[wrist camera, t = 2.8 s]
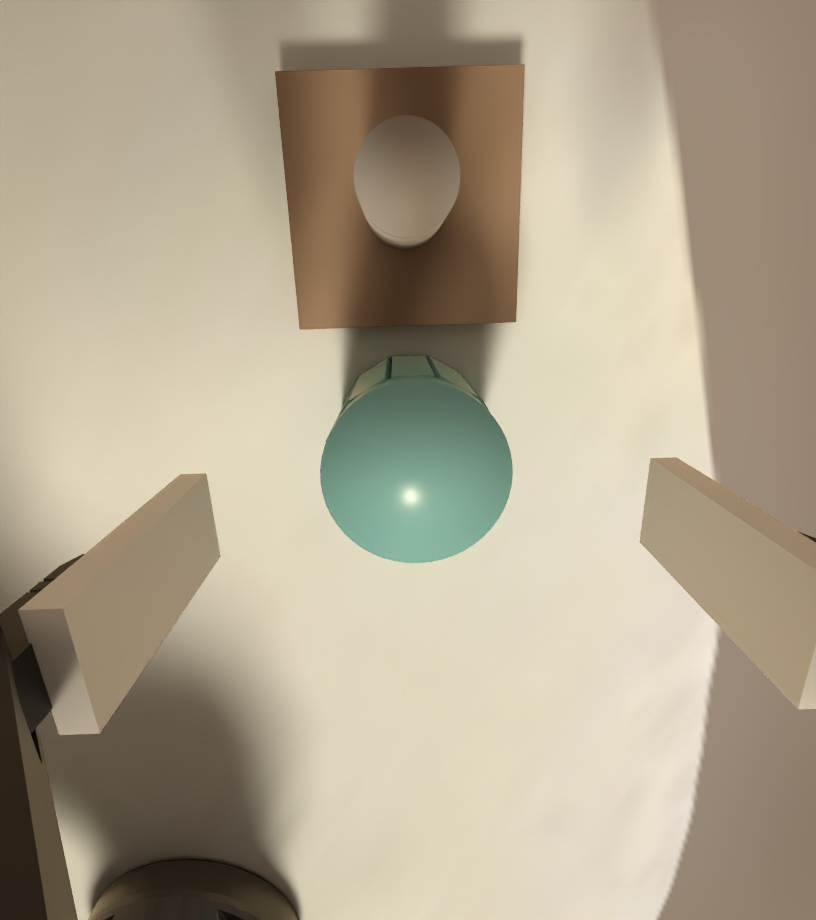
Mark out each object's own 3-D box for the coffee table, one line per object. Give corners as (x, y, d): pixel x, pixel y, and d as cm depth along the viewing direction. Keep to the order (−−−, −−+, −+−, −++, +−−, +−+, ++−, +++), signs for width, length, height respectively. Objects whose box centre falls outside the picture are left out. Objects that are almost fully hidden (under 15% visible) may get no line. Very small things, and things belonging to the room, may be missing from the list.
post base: (304, 327, 24) (271, 339, 18) (281, 83, 21) (232, -8, 15) (510, 320, 24) (550, 329, 18) (517, 76, 21) (569, -17, 15)
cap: (347, 490, 27) (328, 566, 19) (337, 358, 25) (312, 385, 17) (477, 485, 27) (509, 559, 19) (479, 353, 25) (515, 378, 17)
